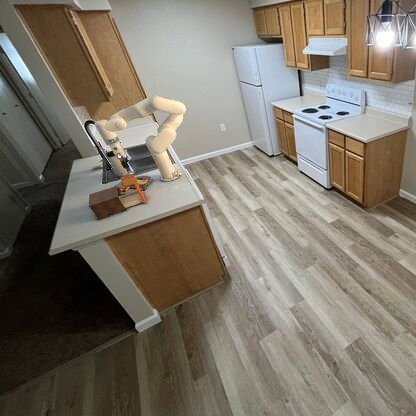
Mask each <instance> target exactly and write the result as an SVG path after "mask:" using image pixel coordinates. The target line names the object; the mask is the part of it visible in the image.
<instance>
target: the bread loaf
mask: <svg viewBox="0 0 416 416" xmlns="http://www.w3.org/2000/svg"><path fill="white" fill-rule="evenodd" d="M136 177H137V176H135V174H134V173H129V174H128V175H126V176H123V177H119V178H120V182H122V183H123V185H124V186H128V185H131V184H135V182H134V181H135V180H136V181H137V179H136Z"/></svg>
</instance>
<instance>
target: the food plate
mask: <svg viewBox="0 0 416 416" xmlns="http://www.w3.org/2000/svg"><path fill="white" fill-rule="evenodd" d="M135 177H136V179H137V182H138V184H139V186H142V185H144V186H145V187H146V186H148V185H149V184H150V183H151V182H152V181H153V178H152V177H151V176H150V175H137V176H135ZM115 186H117V188H118V190H119V191H120V193H121V194H122V195H125V194H128V193H131V192H134V191H137V189H136V186H135V184H131V185H128V186H124V185H123V183H122V181H120V182H118V183H117V184H115V185H114V186H113V187H115ZM141 189H143V188H142V187H141Z"/></svg>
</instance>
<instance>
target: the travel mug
mask: <svg viewBox="0 0 416 416" xmlns="http://www.w3.org/2000/svg"><path fill="white" fill-rule="evenodd" d="M105 155H106V158H107V159H108V161H109V162H110V164H111V166H112V167H113V169H114V170H115V172H116V174H117V176H118V177H119V178H120V177H123V176H126V175H129V172H128V171H127V168H123V166H122V164H121V162H120V160H119V159H117V157H116V156H115V154H114V153H113V151H112V150H110V151H108V152H106V153H105Z"/></svg>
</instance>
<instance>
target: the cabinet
mask: <svg viewBox="0 0 416 416" xmlns="http://www.w3.org/2000/svg"><path fill="white" fill-rule="evenodd" d="M114 186H115V185H114ZM114 186H112V187H109V188H105V189H102V190H99V191H96V192H92V193H89V194H88V208H89V209H90V210H91V211H92V213H93V214H94V216H95V217H96V218H97V220H99V221H100V220H102V219H103V220H104V219H105V218H108V217H112V216H114V215H117V214H121V213H123V212H125V211H127V208H125V207H124V205H123V204H122V202H121V201H120V199H119V198H118V196H121V195H123V194H121V193H120V191H119V190H118V188H117V186H115V187H114Z"/></svg>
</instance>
